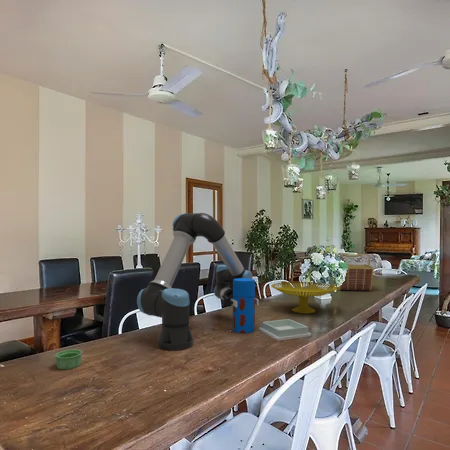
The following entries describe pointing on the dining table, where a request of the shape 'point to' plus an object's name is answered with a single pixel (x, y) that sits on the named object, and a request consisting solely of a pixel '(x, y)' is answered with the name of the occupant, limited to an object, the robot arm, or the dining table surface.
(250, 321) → the leaf-print tea canister
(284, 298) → the dining table surface
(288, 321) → the holder
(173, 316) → the robot arm
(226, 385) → the dining table surface
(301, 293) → the yellow pedestal fruit bowl
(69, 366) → the ramekin
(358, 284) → the picnic basket
